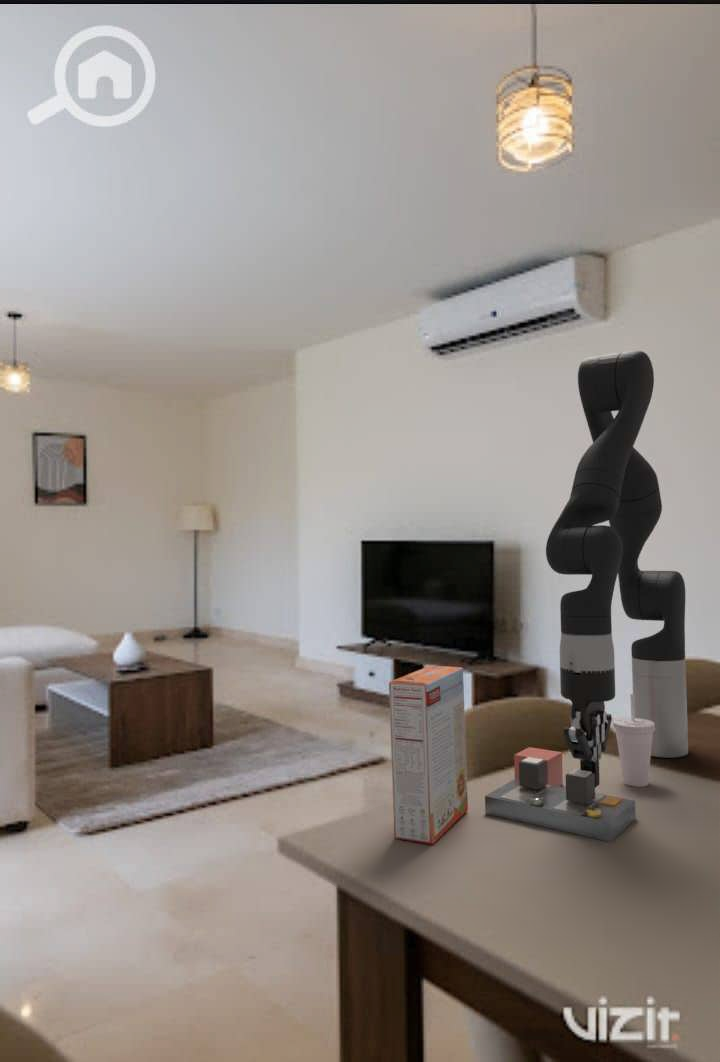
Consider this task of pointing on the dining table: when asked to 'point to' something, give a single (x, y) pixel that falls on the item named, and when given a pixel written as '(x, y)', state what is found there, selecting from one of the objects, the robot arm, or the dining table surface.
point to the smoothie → (634, 747)
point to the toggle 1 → (533, 773)
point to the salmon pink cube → (552, 763)
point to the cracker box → (428, 752)
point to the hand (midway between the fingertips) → (590, 786)
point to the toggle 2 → (580, 786)
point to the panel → (561, 810)
